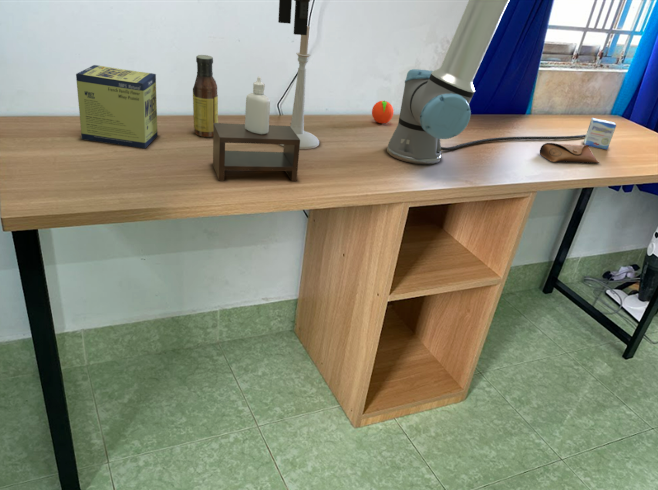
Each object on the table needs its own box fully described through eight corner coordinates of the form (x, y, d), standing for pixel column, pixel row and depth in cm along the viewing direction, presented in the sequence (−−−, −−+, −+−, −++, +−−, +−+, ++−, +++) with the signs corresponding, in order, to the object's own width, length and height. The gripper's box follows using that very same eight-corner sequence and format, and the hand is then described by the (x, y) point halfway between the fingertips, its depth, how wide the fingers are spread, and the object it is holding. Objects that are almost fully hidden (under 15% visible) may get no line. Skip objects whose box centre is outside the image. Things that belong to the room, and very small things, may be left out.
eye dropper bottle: (260, 127, 143) (263, 73, 137) (270, 135, 139) (273, 80, 133) (243, 127, 141) (245, 73, 135) (251, 135, 137) (254, 80, 131)
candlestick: (266, 143, 165) (273, 22, 149) (280, 130, 175) (288, 17, 160) (312, 152, 164) (325, 31, 148) (323, 139, 175) (335, 25, 159)
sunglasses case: (554, 162, 186) (553, 139, 186) (539, 166, 192) (539, 144, 192) (601, 163, 192) (601, 141, 192) (586, 167, 199) (585, 146, 198)
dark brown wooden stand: (286, 165, 152) (290, 126, 147) (296, 181, 145) (300, 139, 139) (212, 164, 146) (213, 122, 141) (218, 180, 138) (219, 137, 133)
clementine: (392, 128, 194) (396, 105, 190) (370, 125, 193) (374, 102, 189) (390, 121, 200) (394, 99, 197) (369, 118, 200) (373, 96, 196)
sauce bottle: (207, 129, 167) (208, 52, 157) (222, 136, 164) (224, 58, 154) (187, 132, 163) (187, 54, 152) (203, 139, 160) (203, 60, 149)
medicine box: (584, 145, 210) (592, 120, 205) (583, 141, 213) (591, 117, 209) (607, 150, 209) (616, 125, 204) (606, 146, 212) (615, 121, 208)
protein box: (146, 149, 148) (143, 83, 140) (80, 140, 147) (74, 73, 139) (159, 136, 157) (157, 73, 149) (97, 127, 156) (91, 63, 148)
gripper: (266, -88, 134) (263, 17, 145) (296, -83, 115) (289, 38, 126) (299, -84, 137) (293, 19, 148) (334, -77, 118) (324, 41, 129)
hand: (291, 28), depth 137 cm, fingers open, 13 cm apart
